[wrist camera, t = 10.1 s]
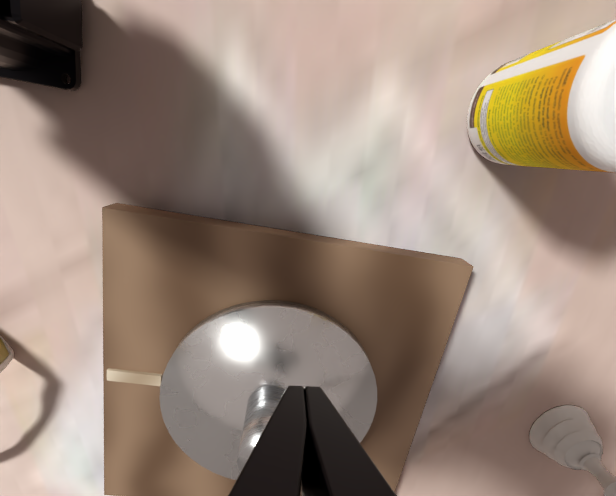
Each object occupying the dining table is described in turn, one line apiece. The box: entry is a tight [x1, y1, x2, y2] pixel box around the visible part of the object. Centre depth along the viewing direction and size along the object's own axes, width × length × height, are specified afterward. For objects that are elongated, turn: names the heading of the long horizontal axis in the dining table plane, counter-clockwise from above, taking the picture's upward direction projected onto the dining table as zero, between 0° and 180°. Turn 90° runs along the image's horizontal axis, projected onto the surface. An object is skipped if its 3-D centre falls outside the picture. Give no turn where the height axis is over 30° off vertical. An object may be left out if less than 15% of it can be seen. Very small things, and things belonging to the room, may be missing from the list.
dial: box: [159, 300, 377, 480], centre depth 20 cm, size 17×14×5 cm
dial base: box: [102, 203, 473, 496], centre depth 23 cm, size 22×22×2 cm
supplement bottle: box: [467, 19, 616, 173], centre depth 14 cm, size 6×6×10 cm
